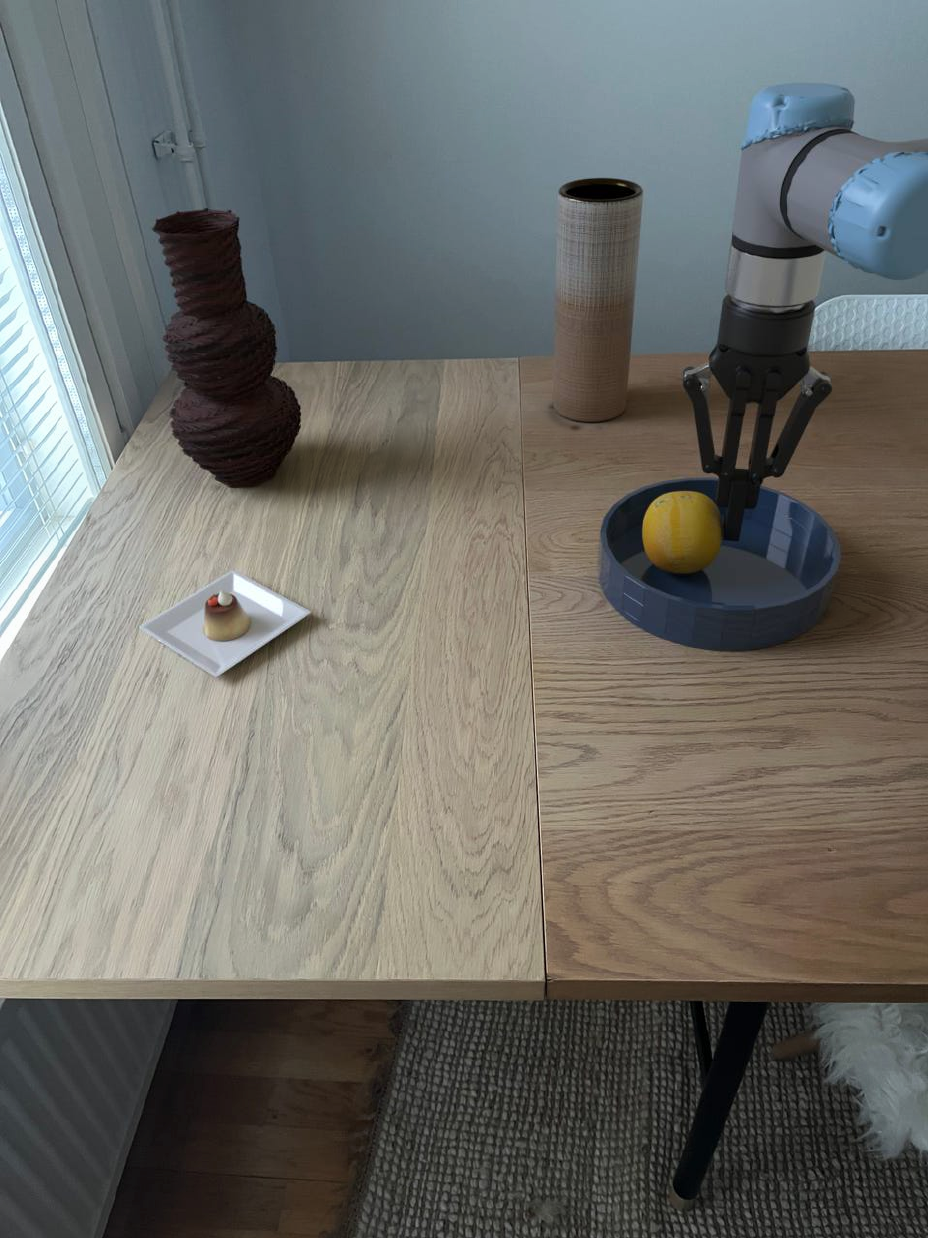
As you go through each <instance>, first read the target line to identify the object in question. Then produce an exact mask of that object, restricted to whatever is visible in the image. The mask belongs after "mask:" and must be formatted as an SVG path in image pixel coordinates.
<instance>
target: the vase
mask: <svg viewBox="0 0 928 1238" xmlns="http://www.w3.org/2000/svg"><path fill="white" fill-rule="evenodd" d="M239 228H240V217H239V216H237V215H236V214H235V213H233V212H232V210H231V209H226V210H217V209H209V208H208V207H203V209H198V210H197V209H196V210H187V211H179V210H177V211H175V213H173V214H170V215H167V216H163V217H162V218H159V219H158V218H155V223H154V225H153V227H151V230H152V231H153V232H154V233H156V234H158V235H159V239H157V240H158V243H159V244H160V245H161V246H162V247H163V248H162V251H161V252H162V255H163V256H164V257H165V260H164V261H163V263H164V264H165V265H166V266H167V268H169V269H170V271H169V276H170V278H172V281H171V282H170V284H171V286H172V287H173V289H175V292H174V293H173V298H175V299H176V301H177V302H176V306H177V307H179V310H178V311H177V312H176V313H173V314H172V315H171V316H170V323H167V325H165V327H164V330H165V331H166V332H165V334H164V335H163V336H162V338H161V339H162V341H163V342H165V343H166V344H165V346H164V350H165V351H166V352H167V353H168V354H167V356H166V359H167V361H169V362H171V363H172V365H171V366H170V367H171V370H173V371H174V372H176V373H177V374H176V377H177V379H179V380H181V381H183V384H182V385H183V387H184V388H183V389H182V390H181V392H180V396H178V398H177V399H174V400H173V403H172V408H171V409H170V411H169V412H168V413H169V417H170V418H171V419H172V421H171V422H169V424H170V427H171V432H172V433H171V435H172V437H174V439H176V440H178V441H177V445H178V446H179V447H180V448H181V451H182V452H183V454H184V455H185V456H187V457H189V458H191V459H192V462H194V463H195V464H198V465H199V466H198V467H199V468H201V469H202V470H204V471H208V472H209V473H210V474H211V475H214V480H215V481H216V482H219V483H222V484H224V485H225V486H228V488H240V487H255V486H257V485H260V484H261V483H263V482H266V481H269V480H270V479H271V480H272V479H274V478H275V476H276V474H277V472H278V470H279V468H281V465H282V463H284V461H285V459H286V457H288V454H289V453H290V452H291V450H292V449H293V447H294V443H295V442H296V438H297V437H298V435H299V434H300V430H301V427H302V424H301V422H302V418H301V417H302V411H301V410H302V406H301V405H300V404H299V400H298V398H297V397H296V392H295V390H294V389H293V388H292V387H291V386H290V385H289V384H288V383H287V382H286V381H284V380H282V379H280V378H278V377H276V376H272V373H273V371H274V369H275V366H276V357H277V352H278V347H277V340H276V334H277V330H276V326H275V324H274V323H273V322H272V320H271V318H270V317H269V314H268V313H267V312H266V311H265V309H264V308H262V307H261V306H259V305H258V304H256V303H254V302H251V301H249V300H248V295H247V290H246V289H247V288H246V287H247V286H246V284H247V283H246V279H245V277H244V274H243V259H242V256H241V253H242V245H241V243H240V238H239V236H238V233H239Z"/></svg>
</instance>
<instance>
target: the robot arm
mask: <svg viewBox="0 0 928 1238" xmlns="http://www.w3.org/2000/svg"><path fill="white" fill-rule="evenodd" d="M855 99H856V98H855V97H854V95H853V93H852V92H851V91H850V89H848V88H847V87H844V86H841V85H837V84H831V83H825V82H823V83H822V82H790V83H789V82H788V83H779V84H774V85H770V86H767V87H764V88H763V89H761V90H760V91H758V92H757V93H756V95H755V96H754V97H753V99H752V100H751V102H750V107H749V113H748V119H747V124H746V129H745V134H744V140H743V142H742V143H741V145H740V150H741V155H740V162H739V170H738V171H739V172H738V179H737V186H736V187H737V188H736V196H735V205H734V212H733V213H734V214H733V221H732V229H731V231H732V234H731V241H730V245H729V253H728V259H727V267H726V275H725V280H724V281H725V282H724V290H725V293H726V295H725V296H724V297H723V299H722V303H721V310H720V319H719V324H718V325H719V326H718V333H717V340H716V344H715V345H714V346H715V347H714V348H713V349H712V350H711V352H710V353H709V356H708V361H706V362H703V363H702V364H700V365H698V366H696V367H694V366H686V367H685V368H684V370H683V371H682V387H683V389H684V390H685V392H686V394H687V395H688V397H689V399H690V401H691V402H692V408H693V416H694V422H695V430H696V435H697V443H698V450H699V455H700V457H699V458H700V463H701V470H702V472H703V473H705V474H714V475H716V476H717V478H719V479H718V486H717V492H716V503H717V506H718V507H726V509H725V516H724V522H723V540H726V541H739V539H740V533H741V527H742V521H743V515H744V509H745V508H746V509H754V508H755V507H756V506H757V502H758V497H759V491H760V486H761V485H763V484H764V480H765V479H767V478H770V477H773V478H781V477H782V476H783V475H784V474H785V472H786V469H787V468H788V465H789V464H790V461H791V459H792V457H793V456H794V453H795V451H796V450H797V447H798V445H799V443H800V441H801V439H802V437H803V435H804V433H805V431H806V429H807V427H808V425H809V423H810V421H811V419H812V417H813V415H814V413H815V412H816V411H815V410H816V408H817V407H819V405H821V404H822V403H823V401H825V400H826V399H827V398H828V397H829V396H830V394H832V392H833V387H832V383H831V379H830V374H829V373H828V372H827V371H820V372H819V371H818V370H817V369H815V368H814V367H813V366H811V360H810V356H809V353H808V347H809V342H810V338H811V333H812V327H813V321H814V316H815V311H816V303H815V301H814V299H816V298H817V297H818V295H819V292H820V287H821V281H822V275H823V270H824V265H825V260H826V254H827V253H830V254H832V255H833V256H835V257H836V258H838V259H840V260H842V261H843V262H845V264H847V265H850V267H852V268H854V269H856V270H857V269H858V270H859V269H860V270H861V271H862V272H864V273H867V274H874V275H877V276H878V277H879V276H880V277H882V278H884V279H888V280H894V281H905V280H912V279H916V278H918V277H921V276H922V275H924V274H926V273H927V271H928V138H920V139H911V140H903V141H883V140H879V139H876V138H872V137H867V136H864V135H861V134H859V133H858V132H855V131H853V130H852V129H853V127H854V124H855V120H854V115H855V105H856V104H855V103H856V100H855ZM712 376H713V377H714V378H715V380H716V381H717V383H718V384H719V386H720V388H721V389H722V391H723V393H724V394H725V396H726V397H727V398H728V399H729V402H728V410H727V415H726V416H727V417H726V423H725V429H724V435H723V436H724V437H723V443H722V448H721V449H722V450H721V455H719V454H716V452H715V444H714V438H713V430H712V422H711V415H710V414H711V413H710V407H709V398H708V393H707V391H708V390H709V389H710V388H711V377H712ZM801 380H802V381H801ZM800 381H801V383H800ZM798 383H800V386H799V387H800V393H799V395H798V396H797V398H796V400H795V403H794V404H793V407H792V409H791V411H790V413H789V415H788V417H787V419H786V422H785V424H784V426H783V428H782V430H781V432H780V434H779V436H778V438H777V441H776V443H775V445H774V447H773V449H772V451H771V453H770V455H769V457H768V452H769V451H768V450H769V445H770V438H771V434H772V430H773V429H772V428H773V423H774V418H775V416H776V410H777V404H778V402H779V401H780V400H781V399H783V398H784V397H785V396H786V395H787V394H788V393H789V392H790V391H791V390H792V389H793V388H794V387H795V386H796V385H798ZM752 403H755V404H757V410H756V416H755V422H754V427H753V433H752V440H751V446H750V451H749V458H748V464H747V465H748V468H736V467H737V460H738V453H739V450H740V443H741V442H740V441H741V436H742V431H743V423H744V418H745V414H746V410H747V409H746V408H747V405H748V404H752Z"/></svg>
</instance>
